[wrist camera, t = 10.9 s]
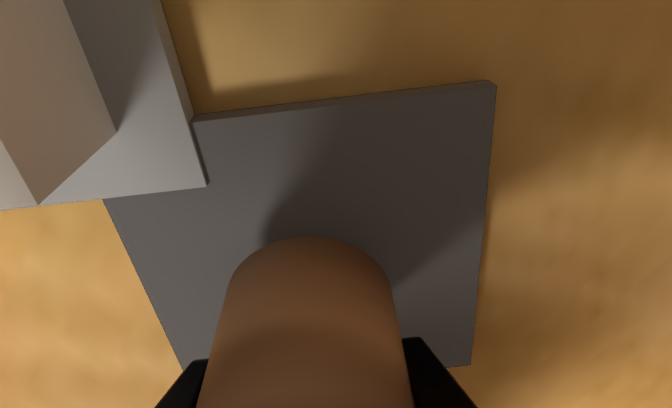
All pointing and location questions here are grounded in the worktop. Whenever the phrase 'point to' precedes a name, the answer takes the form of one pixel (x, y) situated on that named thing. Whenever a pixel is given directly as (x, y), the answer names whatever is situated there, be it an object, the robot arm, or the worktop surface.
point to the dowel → (307, 332)
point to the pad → (327, 206)
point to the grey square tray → (91, 103)
